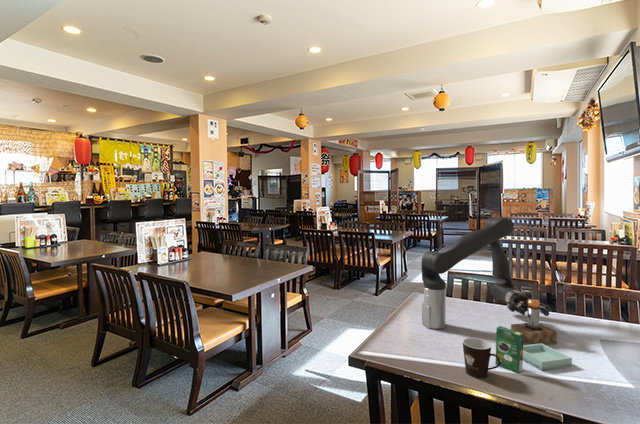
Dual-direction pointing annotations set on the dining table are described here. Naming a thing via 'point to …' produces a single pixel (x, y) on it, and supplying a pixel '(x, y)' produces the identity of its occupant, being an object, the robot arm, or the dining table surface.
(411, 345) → the dining table surface
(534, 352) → the tray
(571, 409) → the dining table surface
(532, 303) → the pin
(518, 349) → the coffee box
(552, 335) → the block
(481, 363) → the coffee mug
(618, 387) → the dining table surface
